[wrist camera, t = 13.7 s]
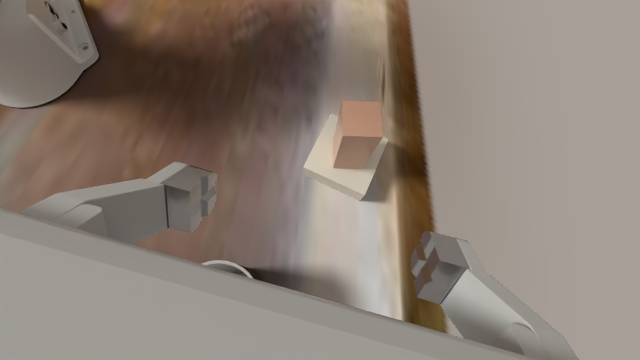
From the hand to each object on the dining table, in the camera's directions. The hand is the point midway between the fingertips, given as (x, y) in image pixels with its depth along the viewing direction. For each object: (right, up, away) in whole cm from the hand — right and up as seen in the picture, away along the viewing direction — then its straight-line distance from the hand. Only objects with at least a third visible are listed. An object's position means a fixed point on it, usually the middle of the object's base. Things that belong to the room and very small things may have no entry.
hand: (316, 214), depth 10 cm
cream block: (+4, +4, +30) cm, 30 cm away
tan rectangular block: (+4, +5, +26) cm, 27 cm away
